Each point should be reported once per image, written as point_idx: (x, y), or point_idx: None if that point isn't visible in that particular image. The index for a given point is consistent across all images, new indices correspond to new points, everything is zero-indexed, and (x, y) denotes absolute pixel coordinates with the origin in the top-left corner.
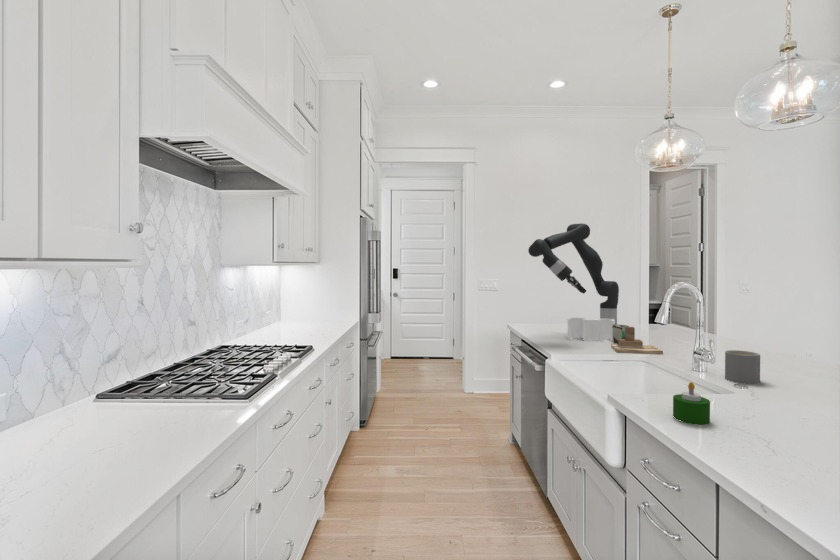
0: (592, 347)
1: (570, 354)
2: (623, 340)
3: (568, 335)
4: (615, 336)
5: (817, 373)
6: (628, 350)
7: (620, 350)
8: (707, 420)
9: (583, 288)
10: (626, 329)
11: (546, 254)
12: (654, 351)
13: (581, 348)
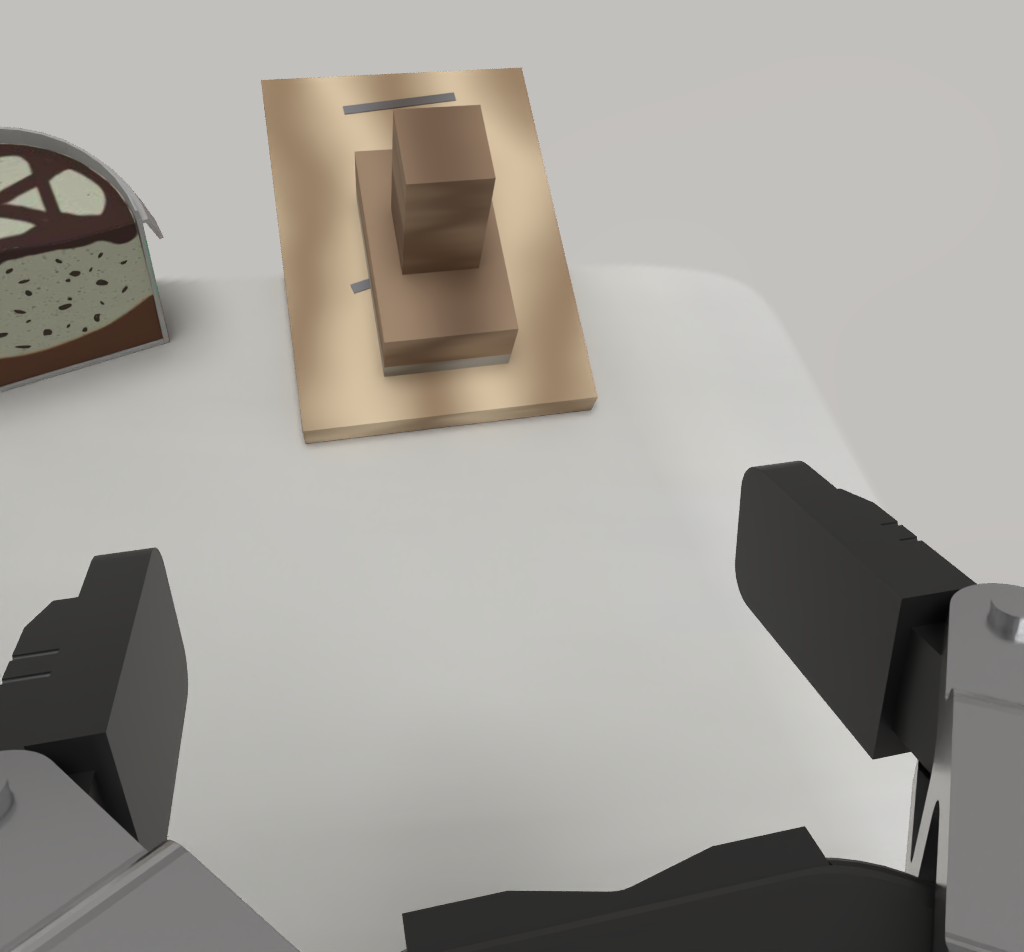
0: (378, 631)
1: (895, 843)
2: (469, 296)
3: None
4: None
5: None
6: (575, 307)
7: (588, 372)
8: None
9: (864, 534)
10: (477, 195)
11: None
12: (532, 125)
13: (491, 750)
